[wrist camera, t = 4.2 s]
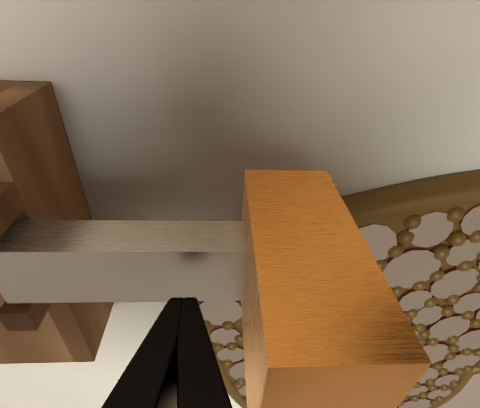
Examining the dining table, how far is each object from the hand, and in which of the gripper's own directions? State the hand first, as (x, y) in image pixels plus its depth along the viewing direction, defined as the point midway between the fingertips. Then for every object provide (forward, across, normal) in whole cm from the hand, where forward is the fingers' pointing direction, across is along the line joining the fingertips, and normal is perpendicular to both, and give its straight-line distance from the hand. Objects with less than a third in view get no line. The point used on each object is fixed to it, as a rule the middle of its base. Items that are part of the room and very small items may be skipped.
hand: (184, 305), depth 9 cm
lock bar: (+4, +1, 0) cm, 4 cm away
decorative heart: (+8, -11, +12) cm, 18 cm away
